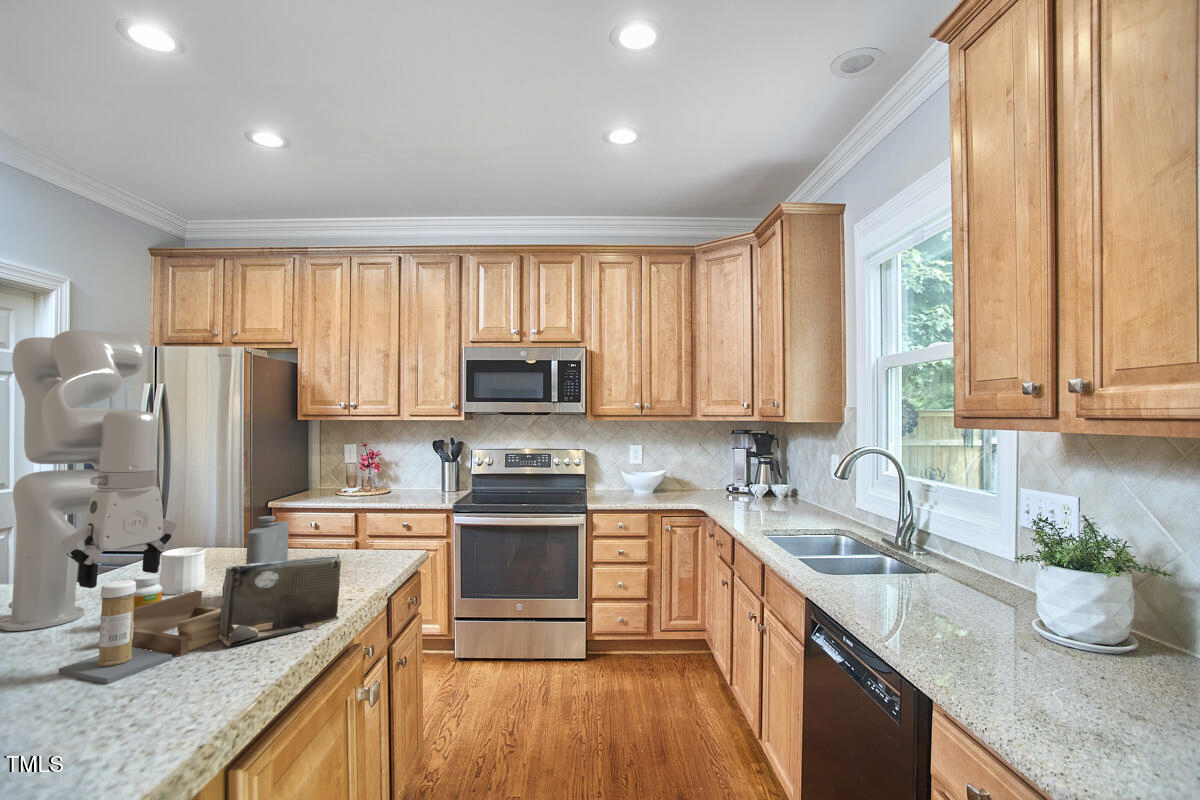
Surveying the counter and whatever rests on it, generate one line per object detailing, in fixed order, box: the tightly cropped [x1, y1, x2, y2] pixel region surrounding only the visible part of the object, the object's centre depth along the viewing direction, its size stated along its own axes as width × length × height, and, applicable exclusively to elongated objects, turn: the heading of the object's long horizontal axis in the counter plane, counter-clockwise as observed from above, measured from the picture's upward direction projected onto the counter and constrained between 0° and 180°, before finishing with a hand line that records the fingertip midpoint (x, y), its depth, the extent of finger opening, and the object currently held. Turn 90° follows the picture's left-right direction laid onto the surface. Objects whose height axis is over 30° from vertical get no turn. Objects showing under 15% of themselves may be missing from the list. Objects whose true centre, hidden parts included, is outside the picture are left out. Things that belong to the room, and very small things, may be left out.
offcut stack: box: [176, 609, 221, 652], centre depth 108 cm, size 4×11×4 cm, turn 162°
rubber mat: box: [58, 647, 173, 685], centre depth 96 cm, size 12×10×1 cm
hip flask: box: [245, 515, 290, 565], centre depth 133 cm, size 16×4×20 cm, turn 6°
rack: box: [132, 590, 221, 657], centre depth 110 cm, size 17×15×6 cm
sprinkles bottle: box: [98, 579, 136, 666], centre depth 96 cm, size 5×5×14 cm
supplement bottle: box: [133, 573, 163, 608], centre depth 116 cm, size 5×5×10 cm
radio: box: [218, 553, 342, 647], centre depth 114 cm, size 23×9×15 cm, turn 134°
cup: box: [158, 546, 207, 595], centre depth 141 cm, size 10×10×10 cm
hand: (120, 579), depth 97 cm, fingers open, 9 cm apart
